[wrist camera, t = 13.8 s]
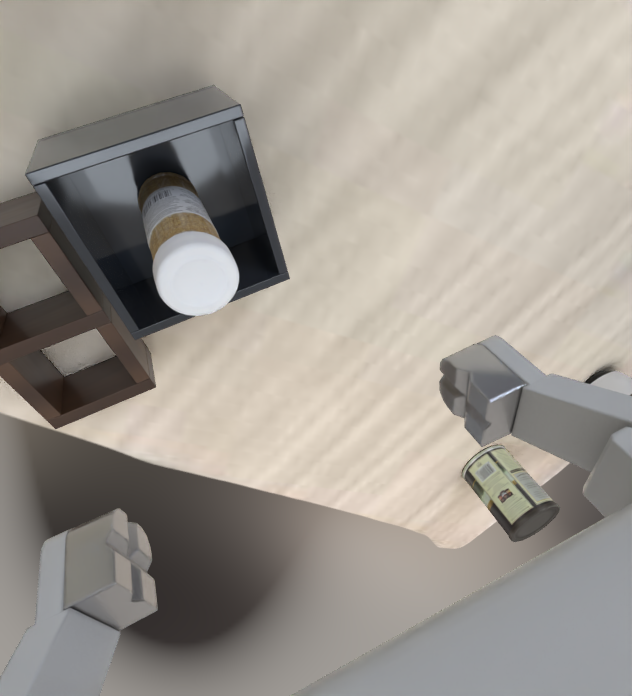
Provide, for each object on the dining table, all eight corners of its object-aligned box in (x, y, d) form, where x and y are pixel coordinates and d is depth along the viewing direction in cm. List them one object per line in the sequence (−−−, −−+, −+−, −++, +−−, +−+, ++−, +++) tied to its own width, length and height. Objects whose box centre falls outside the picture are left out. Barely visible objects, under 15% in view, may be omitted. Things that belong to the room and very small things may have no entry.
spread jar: (602, 361, 79) (662, 405, 70) (628, 369, 85) (686, 409, 77) (558, 409, 84) (610, 454, 76) (586, 413, 90) (636, 455, 82)
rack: (-89, 232, 29) (-115, 266, 25) (44, 188, 30) (37, 214, 26) (59, 390, 40) (55, 429, 36) (150, 353, 41) (156, 387, 38)
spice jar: (156, 237, 34) (180, 331, 25) (125, 183, 31) (138, 267, 22) (208, 214, 35) (252, 298, 25) (183, 159, 32) (221, 230, 22)
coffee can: (488, 476, 91) (537, 536, 80) (453, 481, 86) (501, 547, 76) (514, 442, 85) (571, 502, 75) (478, 446, 80) (533, 511, 70)
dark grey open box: (37, 139, 28) (23, 174, 23) (214, 84, 30) (240, 103, 25) (128, 289, 37) (134, 340, 31) (262, 239, 39) (290, 279, 33)
